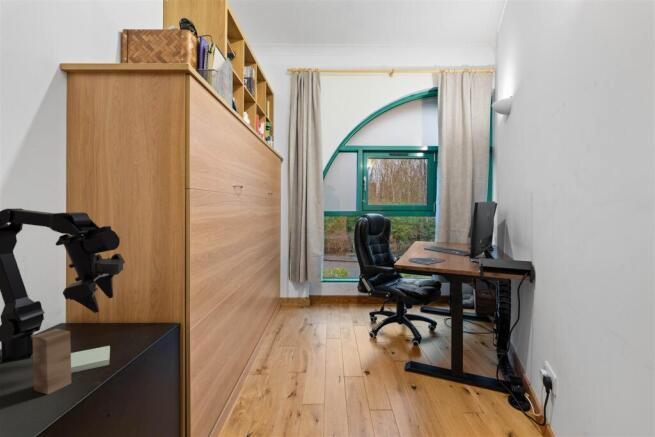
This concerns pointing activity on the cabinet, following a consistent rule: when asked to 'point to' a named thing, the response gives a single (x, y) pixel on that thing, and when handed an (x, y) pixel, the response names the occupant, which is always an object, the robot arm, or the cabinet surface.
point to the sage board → (90, 359)
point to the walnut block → (51, 360)
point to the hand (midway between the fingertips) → (104, 304)
